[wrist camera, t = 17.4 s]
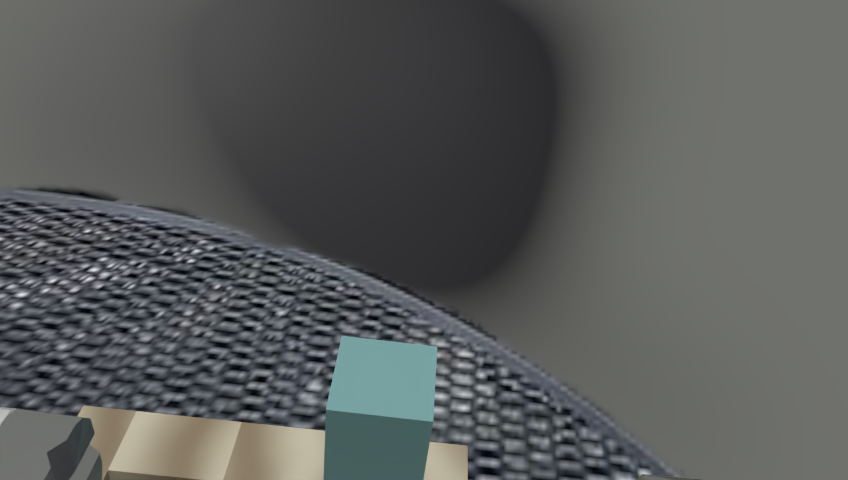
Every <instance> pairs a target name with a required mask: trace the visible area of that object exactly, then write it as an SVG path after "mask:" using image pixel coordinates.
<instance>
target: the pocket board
mask: <svg viewBox="0 0 848 480" xmlns="http://www.w3.org/2000/svg"><path fill="white" fill-rule="evenodd" d="M77 417H83V418H90V419H91V422H92V425H93V428H94V432H95V434H94V436H93V438H92V440H91V442H90V445H91V446H92V447H93V448H95V449H96V450H97V451H98V452H99V453H100V456H101V460H102V480H323V477H324V450H325V431H321V430H311V429H301V428H292V427H282V426H273V425H263V424H254V423H244V422H235V421H225V420H216V419H206V418H196V417H187V416H177V415H168V414H158V413H149V412H139V411H130V410H120V409H111V408H101V407H92V406H83V407H82V409H81V411H80V413H79V415H78V416H77ZM423 480H468V459H467V446H464V445H454V444H445V443H435V442H430V443H429V449H428V455H427V461H426V467H425V473H424V479H423Z"/></svg>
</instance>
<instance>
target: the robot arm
mask: <svg viewBox="0 0 848 480" xmlns="http://www.w3.org/2000/svg"><path fill="white" fill-rule="evenodd" d="M94 434H95V432H94V428H93V425H92V422H91V419H90V418H83V417H76V416H68V415H60V414H52V413H44V412H37V411H29V410H21V409H13V408H4V407H0V480H102V460H101V456H100V453H99V452H98V451H97V450H96V449H95V448H93V447H92V446H91V445H90V442H91V440H92V438H93V436H94ZM637 480H700V479H689V478H678V477H667V476H656V475H644V474H643V475H641V476H640V477H639V478H637Z"/></svg>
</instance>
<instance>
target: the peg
mask: <svg viewBox="0 0 848 480" xmlns="http://www.w3.org/2000/svg"><path fill="white" fill-rule="evenodd" d="M436 359H437V347H435V346H426V345H417V344H408V343H400V342H391V341H382V340H373V339H364V338H356V337H347V336H342V338H341V342H340V347H339V352H338V356H337V361H336V366H335V370H334V375H333V379H332V384H331V389H330V393H329V398H328V403H327V407H326V423H325V450H324V477H323V480H423V479H424V473H425V467H426V461H427V455H428V449H429V443H430V437H431V431H432V425H433V414H434V396H435V378H436Z"/></svg>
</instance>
